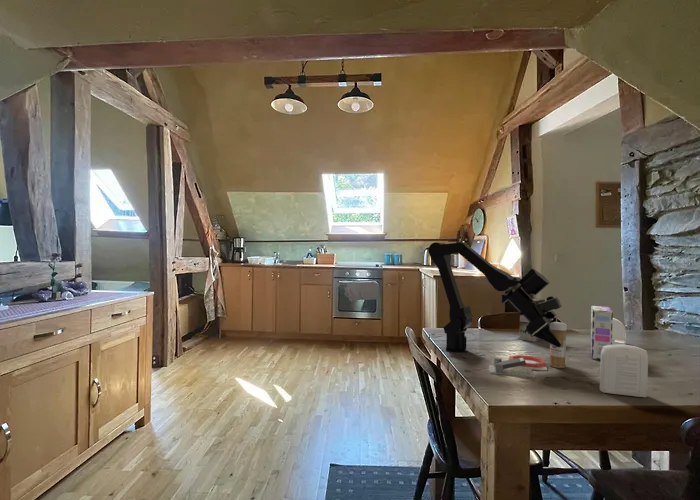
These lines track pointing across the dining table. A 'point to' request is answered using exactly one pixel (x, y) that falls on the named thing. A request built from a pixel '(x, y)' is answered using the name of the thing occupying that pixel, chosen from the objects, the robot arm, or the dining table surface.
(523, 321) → the coffee box
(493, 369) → the panel
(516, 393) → the dining table surface
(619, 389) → the photo printer
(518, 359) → the block
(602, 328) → the candy box
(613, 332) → the u-slot stand
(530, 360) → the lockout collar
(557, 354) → the sprinkles bottle
